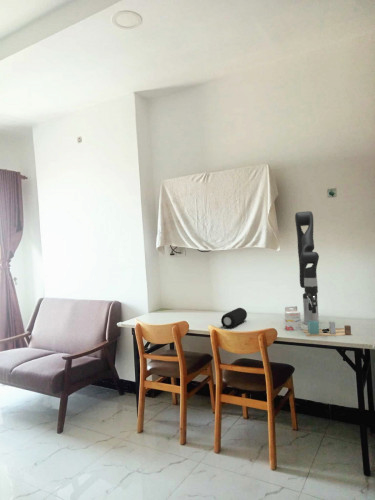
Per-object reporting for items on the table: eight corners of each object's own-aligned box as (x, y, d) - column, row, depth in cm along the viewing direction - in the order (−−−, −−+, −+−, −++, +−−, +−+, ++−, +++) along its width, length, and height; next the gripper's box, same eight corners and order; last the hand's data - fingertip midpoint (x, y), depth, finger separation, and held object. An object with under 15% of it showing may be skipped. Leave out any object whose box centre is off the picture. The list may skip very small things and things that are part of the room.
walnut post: (344, 333, 208) (344, 325, 208) (349, 333, 207) (349, 325, 207) (346, 335, 205) (346, 326, 205) (351, 334, 205) (350, 326, 205)
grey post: (329, 333, 210) (329, 321, 210) (334, 333, 210) (333, 321, 210) (331, 334, 208) (330, 322, 208) (335, 334, 208) (335, 322, 207)
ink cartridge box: (287, 331, 222) (286, 308, 222) (285, 329, 227) (284, 306, 227) (301, 330, 222) (300, 307, 222) (298, 328, 227) (297, 305, 227)
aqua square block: (308, 331, 217) (307, 321, 217) (316, 331, 216) (316, 320, 216) (310, 334, 212) (309, 323, 211) (319, 333, 211) (318, 322, 211)
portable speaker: (236, 320, 263) (235, 306, 262) (248, 321, 257) (247, 307, 257) (220, 328, 241) (219, 313, 241) (233, 329, 236) (232, 314, 235)
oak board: (302, 330, 222) (302, 329, 222) (343, 329, 220) (343, 328, 220) (308, 337, 206) (308, 336, 206) (352, 336, 204) (352, 335, 204)
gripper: (301, 284, 221) (303, 309, 221) (307, 286, 206) (308, 314, 207) (314, 283, 220) (315, 309, 220) (320, 286, 206) (322, 314, 206)
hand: (312, 311), depth 213 cm, fingers open, 8 cm apart
